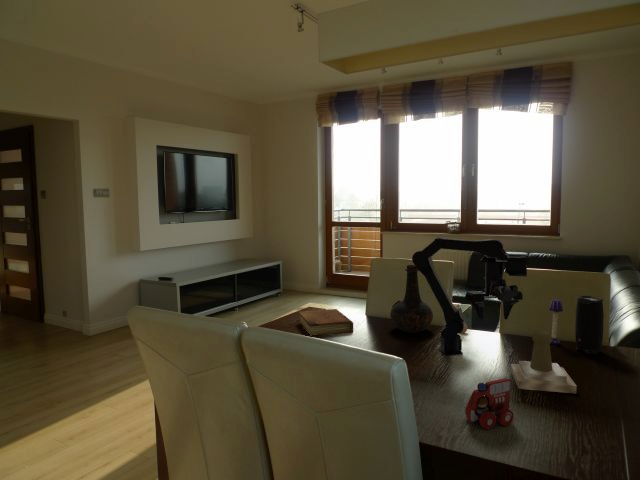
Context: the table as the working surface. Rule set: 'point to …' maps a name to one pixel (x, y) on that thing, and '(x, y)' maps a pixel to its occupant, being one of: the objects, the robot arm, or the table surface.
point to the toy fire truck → (490, 404)
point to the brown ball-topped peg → (541, 352)
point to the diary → (325, 322)
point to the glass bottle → (411, 307)
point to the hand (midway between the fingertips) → (493, 320)
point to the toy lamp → (555, 318)
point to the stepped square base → (542, 378)
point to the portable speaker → (589, 324)
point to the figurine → (465, 324)
